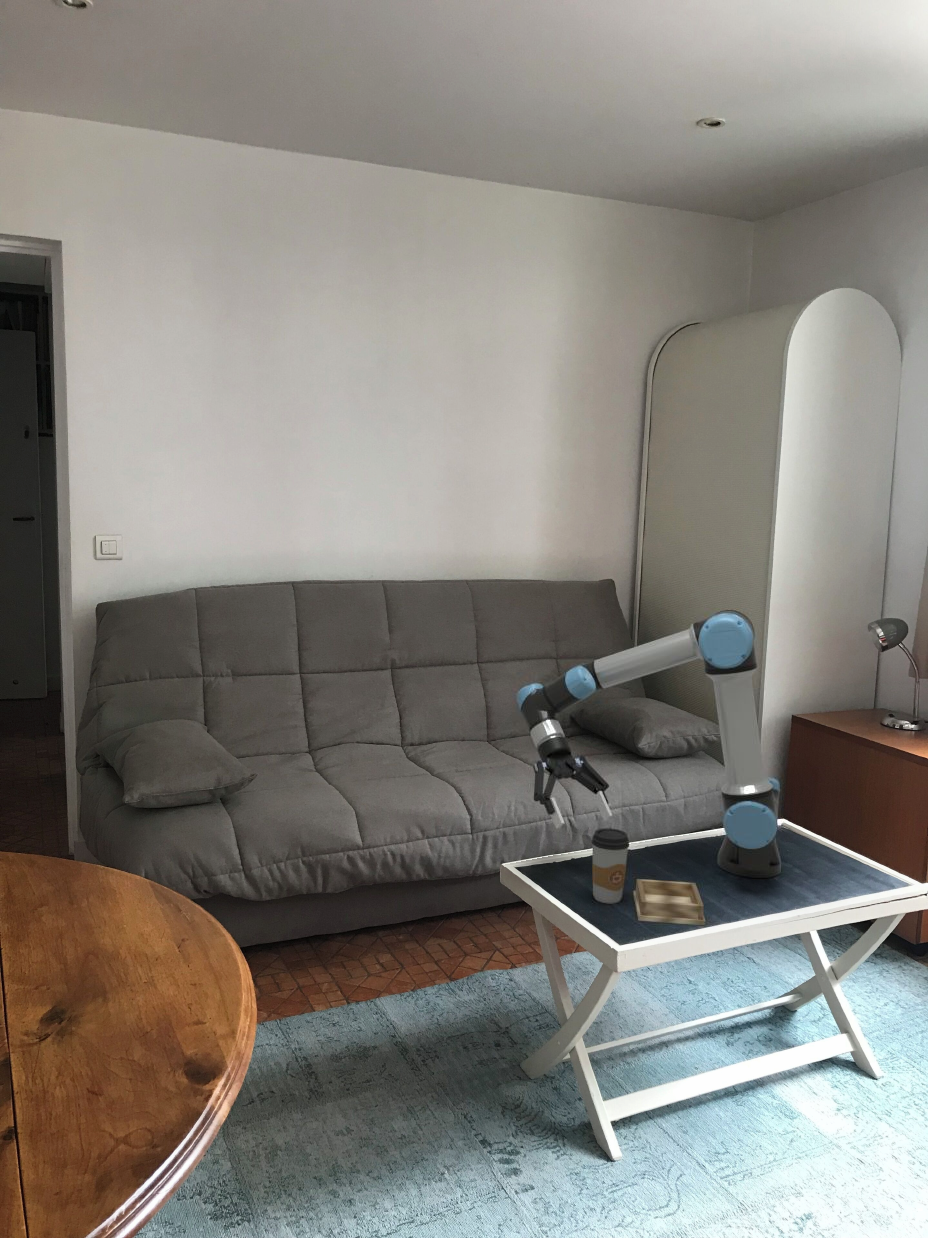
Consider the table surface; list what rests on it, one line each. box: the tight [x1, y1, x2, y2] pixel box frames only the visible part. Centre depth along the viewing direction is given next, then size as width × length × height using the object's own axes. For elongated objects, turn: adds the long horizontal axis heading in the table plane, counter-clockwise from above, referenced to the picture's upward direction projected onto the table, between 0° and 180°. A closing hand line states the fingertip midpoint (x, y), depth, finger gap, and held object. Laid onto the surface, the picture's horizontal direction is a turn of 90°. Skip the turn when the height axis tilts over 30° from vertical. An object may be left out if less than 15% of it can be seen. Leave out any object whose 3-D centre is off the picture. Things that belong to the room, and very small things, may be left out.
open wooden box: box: [632, 878, 706, 926], centre depth 218 cm, size 14×14×4 cm
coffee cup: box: [591, 828, 630, 905], centre depth 222 cm, size 8×8×15 cm
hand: (584, 822), depth 229 cm, fingers open, 13 cm apart
